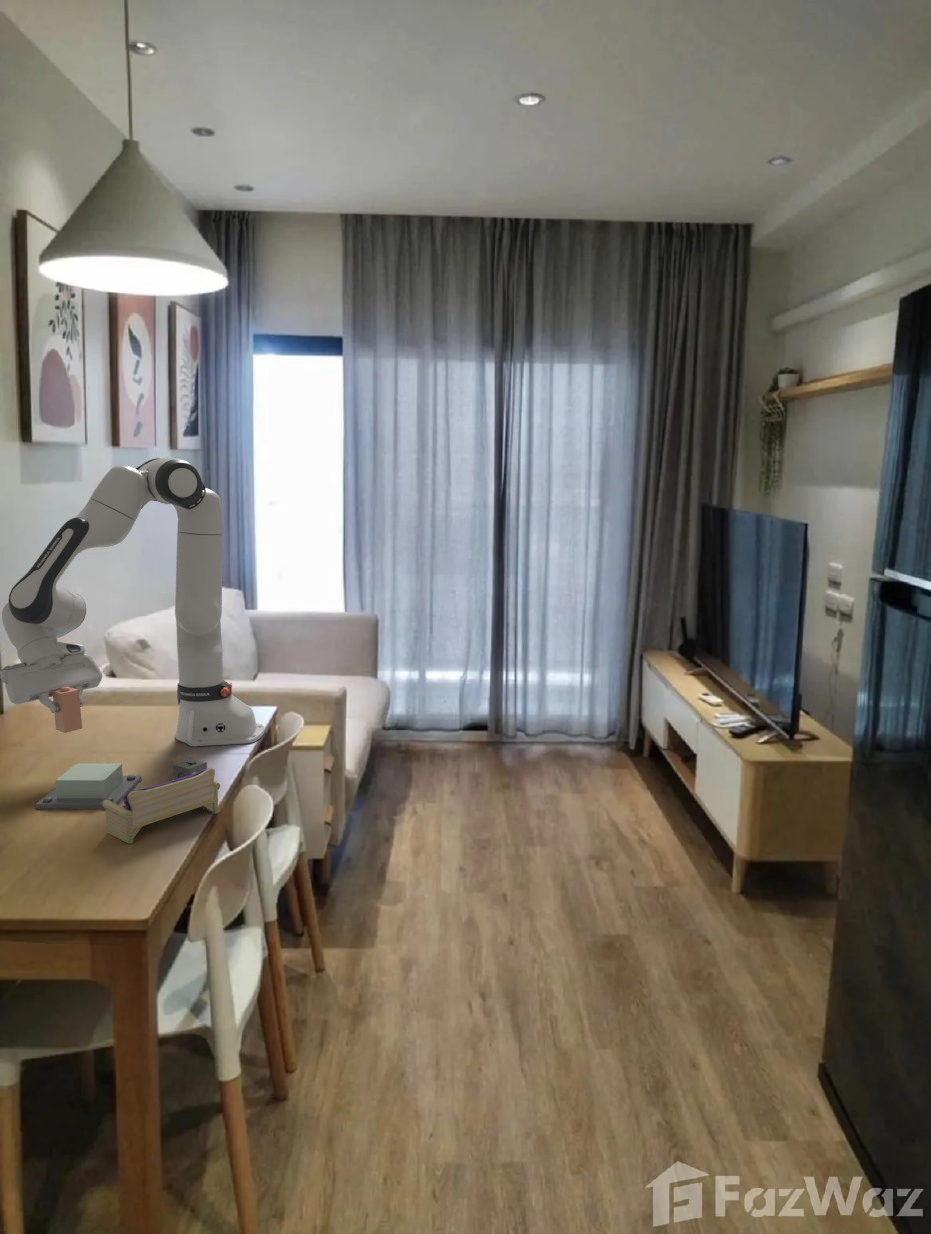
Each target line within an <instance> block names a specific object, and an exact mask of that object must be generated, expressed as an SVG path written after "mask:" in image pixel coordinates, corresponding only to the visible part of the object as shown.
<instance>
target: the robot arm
mask: <svg viewBox="0 0 931 1234" xmlns="http://www.w3.org/2000/svg"><path fill="white" fill-rule="evenodd" d="M88 499H89V500H88V501H87V503H86V504H85V506H84V507H83V508H82V509H81V511H80V512H79V513H78V514H77V515H76V516H75V517H72V518H70V519H68V520H67V521H66V522H65V523H64V524H63V525H61V527H60V529H59V530H58V531H57V532H56V533H55V535H54V536H53V537H52V538H51V540H50V541H49V543H48V544H47V546H46V547H45V548H44V550H43V551H42V552H41V554H40V555H39V556H38V558H37V560H36V561H35V563H34V564H33V565H32V566H31V568H30V569H29V570H28V572H26V573H25V574H24V575H23V576H22V577H21V578H20V579H19V580H18V581H17V582H16V583H15V584H14V586H12V588H11V590H10V592H9V594H8V602H7V603H5V605H4V607H3V608H2V611H1V619H2V620H1V621H2V624H3V627H4V629H5V632H6V635H7V637H8V638H9V641H10V643H11V644H12V645H13V646H14V647H15V649H16V650H17V651H16V652H17V657H18V659H19V661H20V663H17V664H13V665H6V666H4V667H3V668H2V669H1V670H0V680H1V681H2V682H3V683H4V684H5V690H6V692H7V696H8V698H9V700H10V702H11V703H13V704H14V705H21V704H25V703H29V702H34V701H39V702H40V704H41V705H44V706H45V707H46V708H48V709H49V710H50V712H51V714H55V713H56V712H59V710H60V706H59V704H58V702H55V703H54V702H53V700H51V699H50V698H53V692H52V691H54V690H59V689H61V688H62V687H71V688H74V689H77V690H79V698H80V708H81V707H83V706H84V705H85V701H84V699H83V691H84V690H89V689H92V688H93V689H94V688H98V687H99V685H100V683H101V681H102V680H103V673H102V671H101V670H100V668H99V666H98V664H97V663H96V661H95V660H94V658H92V656H90V655H89V654H86V651H87V650H86V647H85V646H84V645H83V644H79V643H78V644H77V643H68V642H62V641H58V638H61V637H63V636H65V635H67V634H69V633H72V632H73V631H74V630H76V629H77V628H79V627H80V626H81V625H82V623H83V622H84V621H85V618H86V614H87V604H86V601H85V599H83V597H82V596H81V595H79V593H78V594H77V593H75V592H73V591H71V590H68V589H66V588H62V587H60V586H57V583H58V582H59V580H60V579H61V577H62V576H63V575H64V573H65V571H66V570H67V569H68V567H70V565H71V563H72V561H73V560H74V559H75V557H77V555H78V554H80V553H82V552H83V551H86V550H88V549H94V548H109V547H114V546H116V545H118V544H121V543H122V542H123V541H124V540H125V538H127V537H128V535H129V533H130V532H131V530H132V529H133V526H134V525H135V522H136V521H137V519H138V517H139V515H140V512H141V510H143V508H144V507H145V506H146V505H147V504H148V503H149V502H151V501H152V502H153V501H154V502H158V503H160V504H164V505H172V506H173V507H174V509H175V511H176V514H177V528H176V529H177V535H176V563H175V564H176V567H175V568H176V569H175V572H176V573H175V577H176V578H175V603H174V605H175V606H174V615H175V620H176V621H175V622H176V623H175V626H176V645H177V646H176V647H177V648H176V649H177V650H176V651H177V671H178V672H177V673H178V682H177V686H176V687H177V688H176V697H177V703H178V705H179V706H178V721H177V727H176V730H175V735H174V737H175V740H177V741H179V742H182V743H186V744H187V746H190V747H203V746H204V747H205V746H206V747H207V746H219V745H220V746H222V745H223V746H224V745H242V744H250V743H254V742H257V740H259V739H261V738H262V737H263V735H264V734H265V726H264V725H263V724H262V723H258V722H257V723H256V717H255V714H254V711H253V709H252V707H251V706H250V705H248V704H247V703H245V702H243V701H242V700H241V699H239V698H237V697H236V696H234V695H233V692H232V691H233V690H232V689H233V688H232V687H233V682H230V683H229V682H227V681H226V680H224V660H223V658H224V657H223V656H224V655H223V641H222V627H221V626H222V625H221V623H222V622H221V619H222V610H223V609H222V604H223V603H222V602H223V557H224V556H223V555H224V554H223V549H224V515H223V505H222V500H221V497H220V496H219V494H218V493H217V492H216V491H214V490H212V489H210V488H207V487H205V484H204V482H203V480H202V478H201V475H200V472H199V471H198V470H197V468H196V467H195V466H194V465H193V464H191V463H190V462H189V461H187V460H185V459H184V460H183V459H180V458H176V457H175V458H174V457H162V458H161V457H156V458H153V459H150V460H149V459H148V460H147V461H145V462H144V463H143V464H141V465H139V466H137V467H132V466H129V465H125V464H118V465H115V466H113V467H112V468H111V469H109V470H108V472H107V473H106V474H105V475H104V477H103V478H102V479H101V481H100V482H99V483H98V484H97V486H96V487H95V489H94V490H93V492H92V494H91V496H90V497H89V498H88Z"/></svg>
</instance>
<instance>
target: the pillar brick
mask: <svg viewBox="0 0 931 1234" xmlns="http://www.w3.org/2000/svg"><path fill="white" fill-rule="evenodd" d="M52 692H53V697H52V701H53V702H54V703H55V702H58V704H59V706H60V710H59V712H56V713H54V724H55V730H56V731H60V732H62V733H64V734H67V733H71V732H74V731H77V730H81V729H83V724H82V722H83V721H82V712H81V711H82V710H81V707H80V698H79V690H77V689H74V688H71V687H62V688H61V689H59V690H54V691H52Z"/></svg>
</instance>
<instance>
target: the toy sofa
mask: <svg viewBox="0 0 931 1234" xmlns="http://www.w3.org/2000/svg"><path fill="white" fill-rule="evenodd" d="M215 774H216V773H215V769H214V768H212V767H207V769H204V770H201V771H199V772H194V773H192V774H191V775H188V776H185V777H181V778H178V779H176V780H174V779H173V780H171V781H167V782H164V783H160V784H155V785H151V786H148V787H144V788H139V789H133V790H132V791H129V792H128V793H126V795H125V796H124V800H123V802H124V803H123V804H124V805H122V806H121V805H120V804H119V805H118V804H116V803H114V802H112V801H110V800H107V799H106V800H104V801H103V803H102V806H103V807H104V808H106V809H105V821H106V822H105V823H106V824H105V825H106V832H107V834H109V835H111V836H113V837H115V838H116V839H118V840H121V841H123V842H125V843H127V844H129V845H130V844H133V843H134V839H135V838H136V835H138V833H139V832H140V830H141V829H142V827H145V826H147V825H150V824H153V823H156V822H158V821H162V820H165V819H168V818H171V817H174V816H176V815H179V814H180V815H181V814H183V813H186V812H188V811H192V810H195V809H198V808H200V809H202V810H204V811H207V812H209V813H211V814H213V815H214V814H215V815H216V814H218V813H219V802H218V801H219V798H218V797H219V796H218V795H219V790H220V788H221V784H220V783H219V782H218V781H216V780H215V776H216V775H215Z"/></svg>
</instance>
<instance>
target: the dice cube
mask: <svg viewBox="0 0 931 1234" xmlns="http://www.w3.org/2000/svg"><path fill="white" fill-rule="evenodd" d="M172 766H173V767H172V768H173V780H176V779H178V778H181V777H185V776H188V775H191V774H192V773H194V772H199V771H201V770H204V769H208V762H207V761H205V760H199V759H195V758H191V757H190V758H188V759H185V760H182V761H180V762H177V763H175V764H173V765H172Z"/></svg>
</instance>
